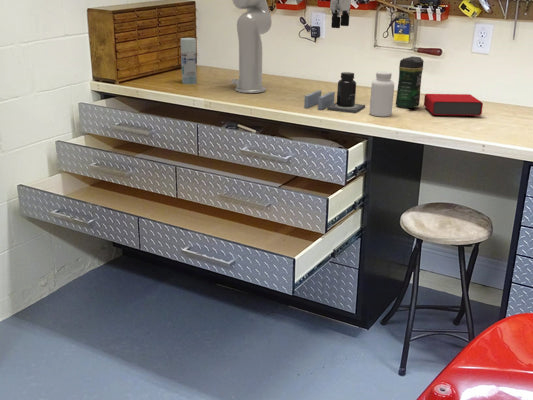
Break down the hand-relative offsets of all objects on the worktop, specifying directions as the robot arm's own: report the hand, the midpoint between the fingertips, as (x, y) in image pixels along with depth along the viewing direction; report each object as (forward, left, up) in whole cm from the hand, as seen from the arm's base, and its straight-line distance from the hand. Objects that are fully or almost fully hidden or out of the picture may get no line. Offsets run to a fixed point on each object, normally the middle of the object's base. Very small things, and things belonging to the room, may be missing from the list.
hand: (340, 26), depth 239 cm
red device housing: (+43, +7, -29) cm, 52 cm away
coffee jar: (+27, +5, -28) cm, 40 cm away
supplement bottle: (+8, -11, -27) cm, 30 cm away
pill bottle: (+22, -14, -28) cm, 39 cm away
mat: (+8, -11, -28) cm, 31 cm away
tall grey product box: (-68, 0, -28) cm, 74 cm away
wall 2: (0, -11, -28) cm, 30 cm away
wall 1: (-6, -11, -28) cm, 31 cm away
